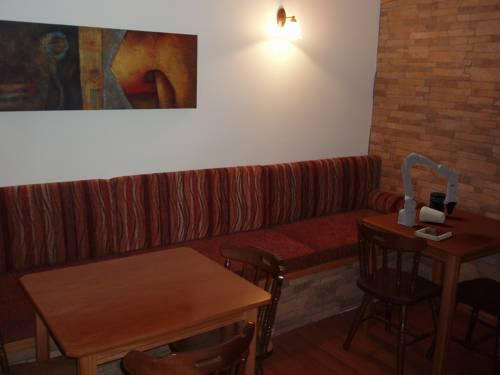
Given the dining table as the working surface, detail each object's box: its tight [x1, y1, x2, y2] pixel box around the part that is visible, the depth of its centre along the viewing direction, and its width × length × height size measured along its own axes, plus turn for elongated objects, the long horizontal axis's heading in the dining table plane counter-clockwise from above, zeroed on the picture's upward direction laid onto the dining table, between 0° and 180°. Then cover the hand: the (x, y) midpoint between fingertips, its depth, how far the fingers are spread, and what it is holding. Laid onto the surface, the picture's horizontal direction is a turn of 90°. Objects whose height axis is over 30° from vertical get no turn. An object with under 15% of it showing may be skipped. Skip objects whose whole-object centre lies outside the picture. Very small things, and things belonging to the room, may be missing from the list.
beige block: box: [424, 226, 437, 237], centre depth 292 cm, size 4×4×4 cm
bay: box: [413, 226, 453, 242], centre depth 294 cm, size 14×16×2 cm
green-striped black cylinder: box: [428, 191, 447, 213], centre depth 336 cm, size 10×10×15 cm
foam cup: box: [419, 205, 446, 224], centre depth 320 cm, size 10×9×13 cm
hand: (449, 213), depth 304 cm, fingers closed
